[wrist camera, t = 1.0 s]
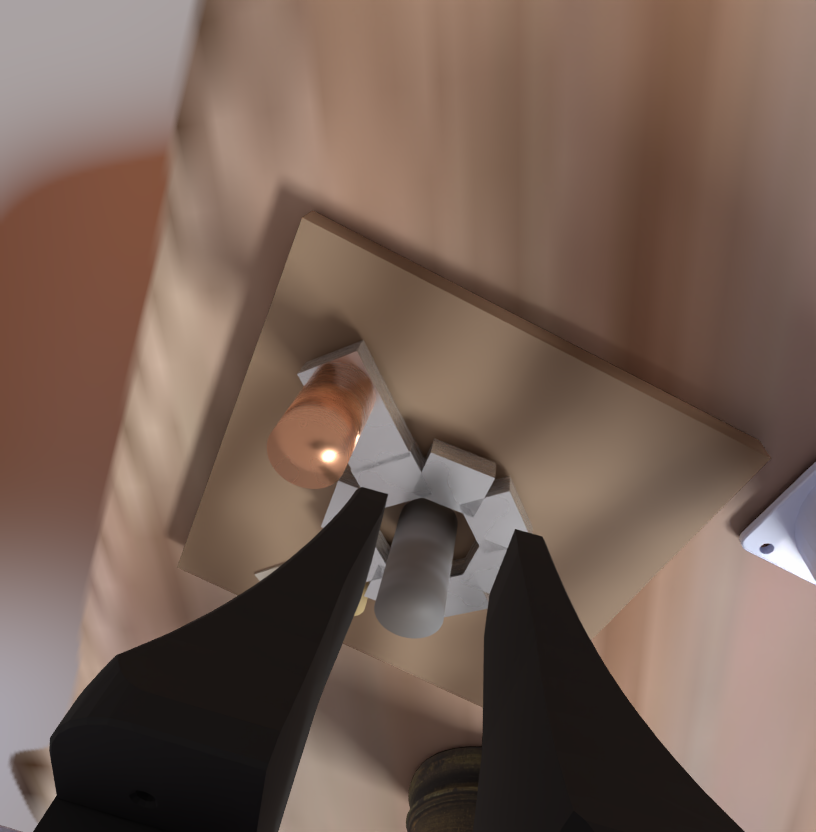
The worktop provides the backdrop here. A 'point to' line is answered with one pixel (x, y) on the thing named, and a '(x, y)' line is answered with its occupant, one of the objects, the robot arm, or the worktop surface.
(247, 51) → the worktop surface
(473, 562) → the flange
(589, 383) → the jig base
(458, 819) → the container
